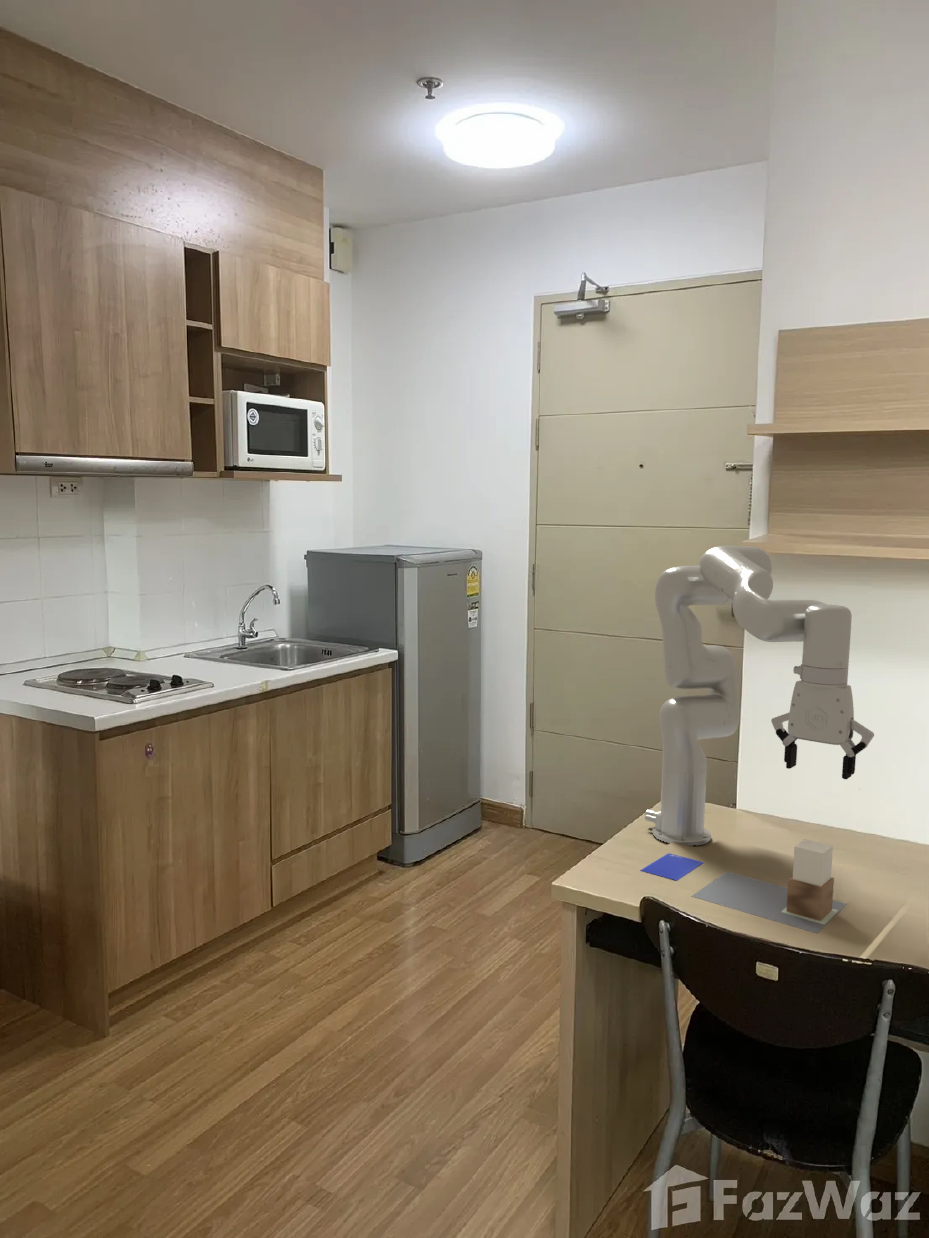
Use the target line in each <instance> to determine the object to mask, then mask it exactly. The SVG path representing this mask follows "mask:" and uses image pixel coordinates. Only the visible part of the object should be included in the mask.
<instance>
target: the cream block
mask: <svg viewBox="0 0 929 1238" xmlns="http://www.w3.org/2000/svg"><path fill="white" fill-rule="evenodd" d="M833 849H834V846H833V845H831V844H827V843H822V842H819V841H814V840H809V839H805V838H804V839H802V841H800V842H798V843H797V844H796V845H795V846H794V851H793V866H792V867H793V868H792V876H793V879H794V880H798V881H801V882H805V883H809V884H813V885H817V886H820V887H821V886H823V885H824V884H825V883H826V882H827V881H828V880H830V879H831V877H832V867H833V866H832V865H833V864H832V863H833V851H834V850H833Z"/></svg>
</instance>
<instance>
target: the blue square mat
mask: <svg viewBox="0 0 929 1238" xmlns="http://www.w3.org/2000/svg"><path fill="white" fill-rule="evenodd" d="M702 865H704V862H703V861H701V860H699V859H698V860H697V859H693V858H689V857H685V856H681V855H678V854H673V853H670V852H669V853H666V854H665V855H663V856H661V857H660V858H657V859H656V860H655V861H653V862H651V863H650V864H648V865H647V866H644V867H643V868H642V869H640V870H639V871H640V872H643V873H646V874H650V875H654V876H657V877H659V878H660V877H661V878H665V879H666V880H667V879H668V880H672V881H675V882H678V881H679V880H680V879H682V878H684V877H685V876H687V875H688V874H690V873H692V872H693V871H695V870H696V869H697V868H699V867H700V866H702Z"/></svg>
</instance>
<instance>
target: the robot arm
mask: <svg viewBox="0 0 929 1238" xmlns="http://www.w3.org/2000/svg"><path fill="white" fill-rule="evenodd" d="M772 566H773V565H772V560H771V559H770V556H769V555H768V554H767V552H766V551H764V550H763V549H762V548H760V547H759V546H758V547H757V546H753V545H749V546H748V545H739V546H738V545H719V546H714V547H712V548H709V549H708V550H706V551H705V552H704V553H703V555H701V557H700V560H699V563H698V565H680V566H679V565H678V566H674V567H669V568H668V569H666V570H663V572H661V574H660V575H659V576H658V578H657V581H656V584H655V587H654V588H655V589H654V600H655V601H654V602H655V605H656V611H657V614H658V617H659V620H660V625H661V635H662V637H661V638H662V639H661V640H662V655H663V657H662V658H663V670H664V677H665V681H666V683H667V685H668V686H669V687H671V688H672V689H676V690H704V689H705V690H707V694H694V695H680V696H676V697H670V698H669V699H667V700H666V701H665V702H663V704H662V705H661V707H660V711H659V724H660V730H661V731H660V732H661V737H662V738H661V740H662V760H661V761H662V763H661V764H662V765H661V766H662V767H661V784H660V785H661V789H660V790H661V791H660V811H655V810H652V809H647V810H646V811H645V813H644V815H645V818H644V820H645V821H647V822H652V823H653V824H655V825H654V826H653V828H652V832H651V833H653V834H652V836H653V835H654V836H655V837H656V838H655V837H654V836H653V837H654V838H655V839H657V840H658V839H659V840H658V841H660V840H661V841H660V842H663V841H664V842H663V843H666V842H667V844H672V843H677V844H680V845H681V844H682V845H684V846H685V845H686V846H689V847H693V845H696V846H701V845H705V844H707V843H709V842H710V841H711V837H712V836H711V832H710V831H709V830H708V829H707V828H705V813H706V812H705V810H706V794H707V793H706V791H707V788H706V787H707V768H708V767H707V766H708V762H707V761H708V760H707V757H706V756H707V755H706V754H705V752H704V750H703V748H702V747H701V746H700V744H699V740H704V739H705V740H706V739H716V738H718V739H719V738H725V737H729V736H730V737H731V736H732V735H733V734H735V732H736V731H737V730H738V727H739V723H740V701H739V700H740V697H739V681H738V670H737V664H736V660H735V658H734V656H733V654H732V653H731V651H730V650H729V649H727V648H726V647H724V646H722V645H714V644H713V645H712V644H711V645H704V643H703V635H702V634H703V632H702V631H703V630H702V626H701V623H700V622H701V621H700V620H699V619H698V617H697V615H696V613H695V612H694V611H693V610H692V609H691V608H690V606H725V605H730V604H732V611H733V615H734V618H735V621H736V623H738V625H739V626H740V627H741V628H742V629H744V630H745V631H747V633H748V634H749V635H752V636H753V637H754V638H756V639H758V640H761V641H762V642H768V643H783V642H784V643H785V642H786V643H788V642H789V643H790V642H792V643H793V642H798V643H799V642H802V644H803V645H802V660H801V664H800V665H798V666H797V665H794V667H793V673H794V674H796V675H798V676H799V680H796V681H795V684H794V688H793V691H792V696H791V701H790V708H789V712H786V713H784V714H780V715H778V716H776V717H773V718H771V724H772V726H773V728H774V730H775V735H776V736H777V737H778V738H779V739H780V741H781V743H782V745H783V746H784V757H783V762H784V763H785V764H786V765H785V768H786V769H789V770H790V769H792V768H795V766H796V765H797V760H798V759H797V757H798V755H797V754H798V745H797V743H796V741H797V740H802V741H809V742H815V743H822V744H826V745H827V744H828V745H833V746H840V747H841V748H842V750H843V751H844V753H845V755H844V756H843V758H842V771H841V778H842V779H843V780H849V778H851V777H852V776H853V775H854V774H855V771H856V759H857V758H856V757H857V755H858V754H860V753H861V752H862V751H863V750H865V749H866V748H867V747H868V745H869V744H870V742H871V741H872V740H873V738H874V737H875V734H874V732H873V731H872V730H870V729H868V728H867V727H866V726H864V725H863V724H862V723H859V722H858V721H857V720H855V715H854V714H855V711H854V709H855V708H854V699H853V690H852V686H851V685H849V684H848V677H849V665H850V664H849V663H850V649H851V648H850V645H851V632H852V631H851V630H852V612H851V610H850V608H848V607H846V606H844V605H837V604H828V603H827V604H826V603H825V602H822V601H819V600H814V599H769V598H770V597H771V594H772V592H773V589H774V581H773V577H772V575H771V574H772V569H773V567H772ZM787 721H788V722H787ZM785 722H787V723H788V724H787V729H785V728H784V724H783V723H785ZM854 733H857V734H858V735H860V736H861V739H860V741H859V742H858V743H857V744H855V742H854V741H853V740H852V739H853V737H854Z"/></svg>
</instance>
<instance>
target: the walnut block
mask: <svg viewBox="0 0 929 1238" xmlns="http://www.w3.org/2000/svg"><path fill="white" fill-rule="evenodd" d="M834 887H835V878H834V877H832V876H831V879H830V880H828V881H827V882H826V883H825V884H824V885H823V886H821V887H820V886H817V885H813V884H809V883H805V882H801V881H798V880H794V879H793V875H792V876H790V877H789V878H788V881H787V888H788V893H787V910H786V911H787V912H790V913H794V914H797V915H801V916H804V917H808V918H811V919H815V920H818V921H821V920H822V919H823V918H824V917H825V916H827V915H828V914H829V913H830V912H831V911H832V902H833V900H834Z"/></svg>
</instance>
